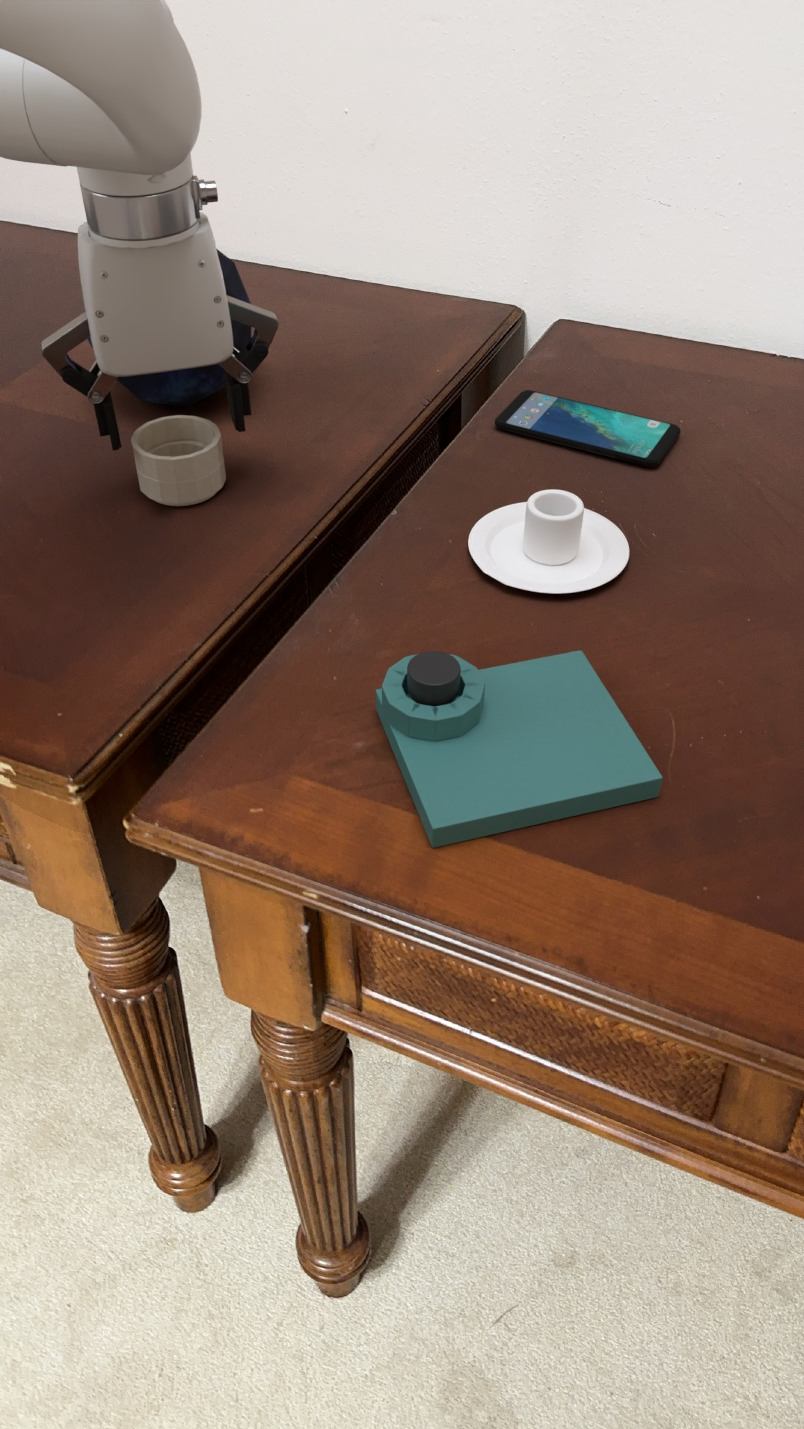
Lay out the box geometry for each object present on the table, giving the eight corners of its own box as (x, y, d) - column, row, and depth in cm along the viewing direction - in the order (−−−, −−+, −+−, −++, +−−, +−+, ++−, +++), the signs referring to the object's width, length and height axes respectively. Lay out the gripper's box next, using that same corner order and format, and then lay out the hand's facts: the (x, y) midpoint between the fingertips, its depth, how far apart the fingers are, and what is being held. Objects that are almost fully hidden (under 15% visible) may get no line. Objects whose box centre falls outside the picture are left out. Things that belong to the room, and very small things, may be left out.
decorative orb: (145, 406, 88) (208, 219, 85) (24, 354, 95) (79, 180, 92) (252, 445, 101) (310, 284, 98) (138, 397, 107) (190, 245, 104)
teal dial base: (431, 849, 62) (432, 807, 60) (372, 703, 71) (371, 662, 68) (658, 797, 65) (668, 755, 62) (575, 663, 74) (581, 622, 71)
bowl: (145, 515, 86) (136, 464, 83) (135, 470, 91) (126, 421, 88) (232, 501, 88) (226, 451, 85) (218, 459, 93) (212, 410, 90)
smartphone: (524, 387, 100) (683, 425, 95) (523, 395, 101) (682, 433, 96) (491, 421, 96) (657, 463, 91) (490, 429, 96) (655, 471, 91)
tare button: (415, 711, 66) (416, 689, 64) (400, 677, 68) (400, 655, 67) (466, 701, 66) (467, 679, 65) (450, 667, 68) (451, 646, 67)
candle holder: (478, 605, 78) (482, 555, 75) (458, 512, 87) (461, 464, 84) (645, 597, 79) (654, 547, 76) (608, 505, 88) (616, 457, 85)
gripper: (256, 175, 79) (275, 395, 91) (8, 200, 76) (61, 425, 87) (277, 212, 74) (295, 440, 86) (12, 240, 70) (68, 473, 82)
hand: (177, 432), depth 87 cm, fingers open, 9 cm apart
